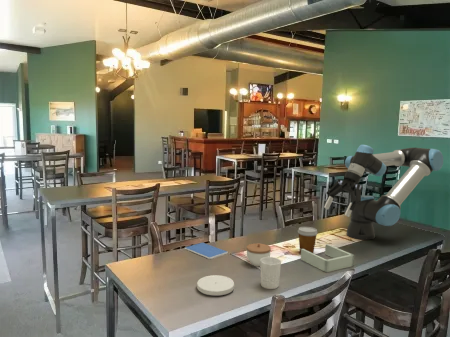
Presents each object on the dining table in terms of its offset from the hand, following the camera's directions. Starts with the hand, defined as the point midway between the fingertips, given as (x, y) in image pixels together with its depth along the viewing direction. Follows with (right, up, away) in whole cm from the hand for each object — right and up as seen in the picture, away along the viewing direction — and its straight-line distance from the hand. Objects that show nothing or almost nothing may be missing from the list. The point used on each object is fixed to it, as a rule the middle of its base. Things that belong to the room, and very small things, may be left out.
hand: (336, 212), depth 177 cm
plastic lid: (-58, -24, -41) cm, 76 cm away
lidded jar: (-40, -21, -17) cm, 48 cm away
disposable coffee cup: (-15, -20, -2) cm, 25 cm away
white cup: (-38, -24, -38) cm, 59 cm away
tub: (-9, -21, -14) cm, 27 cm away
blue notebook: (-64, -19, -2) cm, 67 cm away
